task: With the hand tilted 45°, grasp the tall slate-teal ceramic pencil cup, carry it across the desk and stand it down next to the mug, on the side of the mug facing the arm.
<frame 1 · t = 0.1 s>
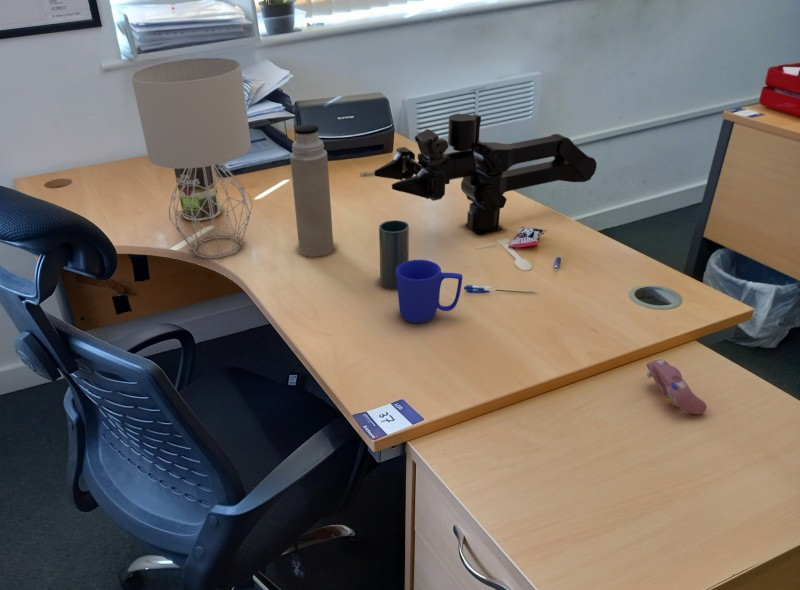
hand: (383, 179, 145), 17 cm above the table, tool horizontal, fingers open, 9 cm apart
thermos bottle: (316, 250, 158), on the table
toy shoe: (670, 399, 106), on the table
table lamp: (217, 248, 163), on the table
coffee can: (202, 214, 181), on the table
mug: (427, 317, 130), on the table
pencil cup: (394, 282, 142), on the table
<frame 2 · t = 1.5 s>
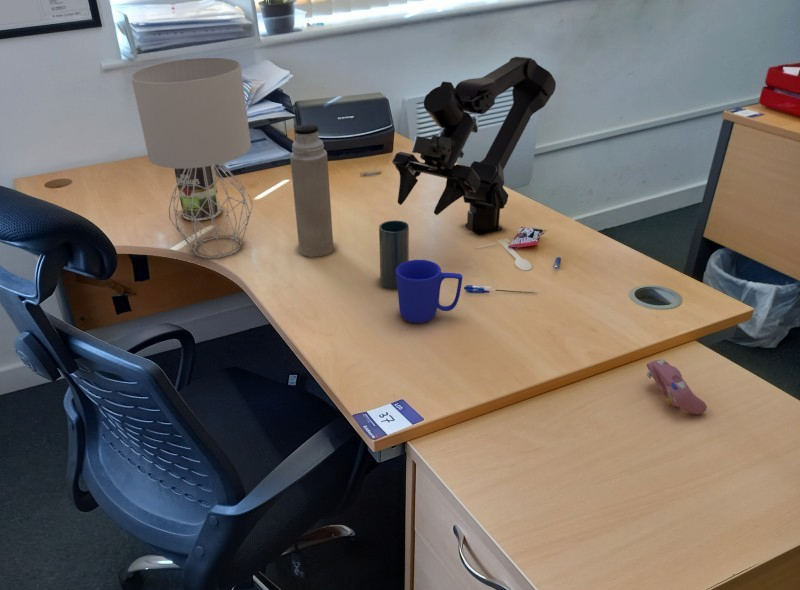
hand: (416, 208, 139), 14 cm above the table, tool tilted 45°, fingers open, 9 cm apart
nothing on the table moved.
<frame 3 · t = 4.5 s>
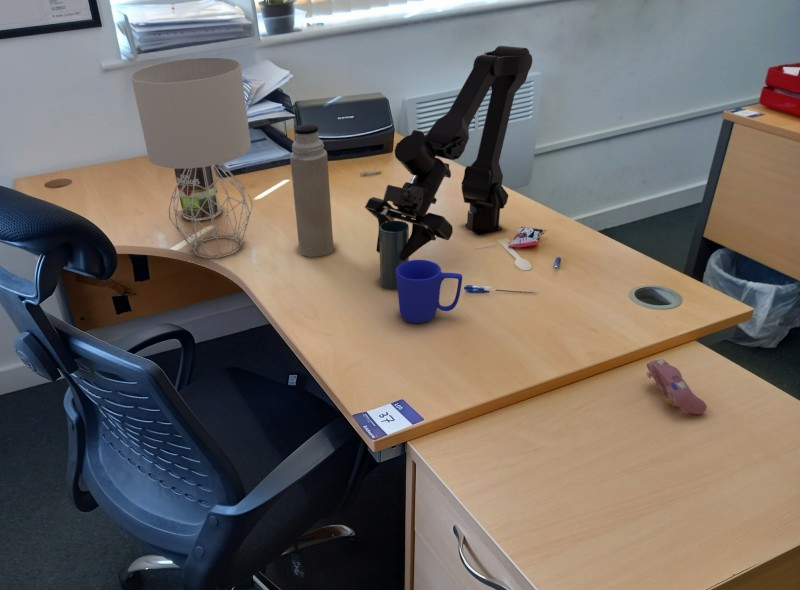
hand: (389, 255, 138), 7 cm above the table, tool tilted 45°, fingers closed on pencil cup, 6 cm apart
pencil cup: (394, 282, 142), on the table, touching gripper
everything else where it was.
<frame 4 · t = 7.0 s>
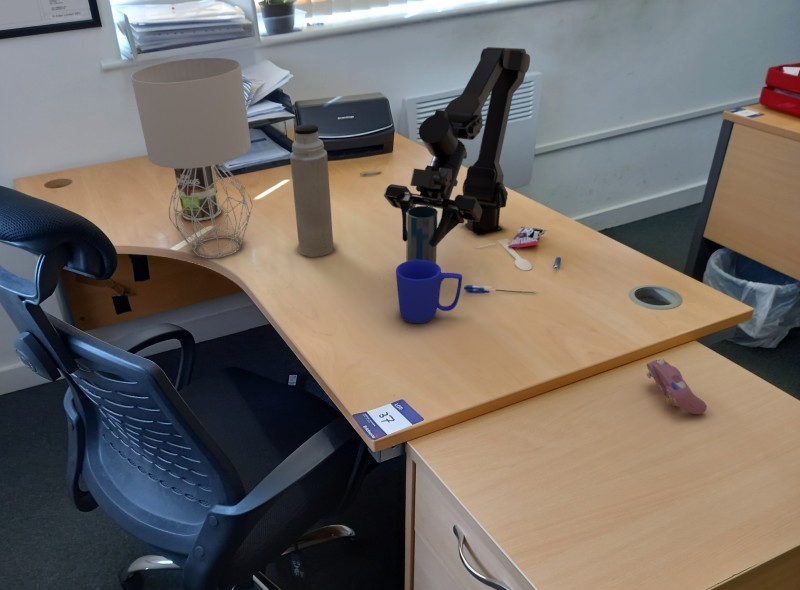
hand: (418, 243, 132), 11 cm above the table, tool tilted 45°, fingers closed on pencil cup, 6 cm apart
pencil cup: (421, 271, 136), point 4 cm above the table, touching gripper
everything else where it was.
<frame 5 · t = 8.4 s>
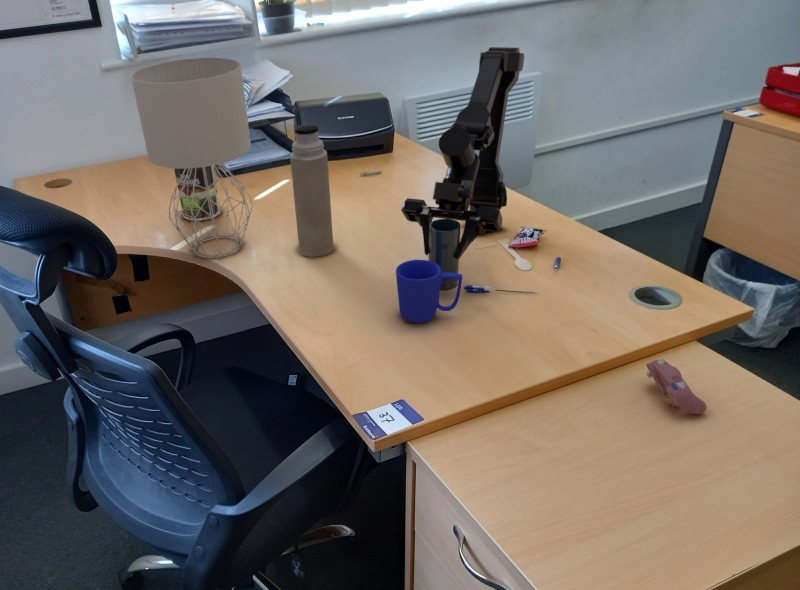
hand: (441, 256, 131), 9 cm above the table, tool tilted 45°, fingers closed on pencil cup, 6 cm apart
pencil cup: (442, 284, 136), point 2 cm above the table, touching gripper
everything else where it was.
when the fingers open (7 cm above the table, at t = 9.6 s): pencil cup stays where it is, on the table.
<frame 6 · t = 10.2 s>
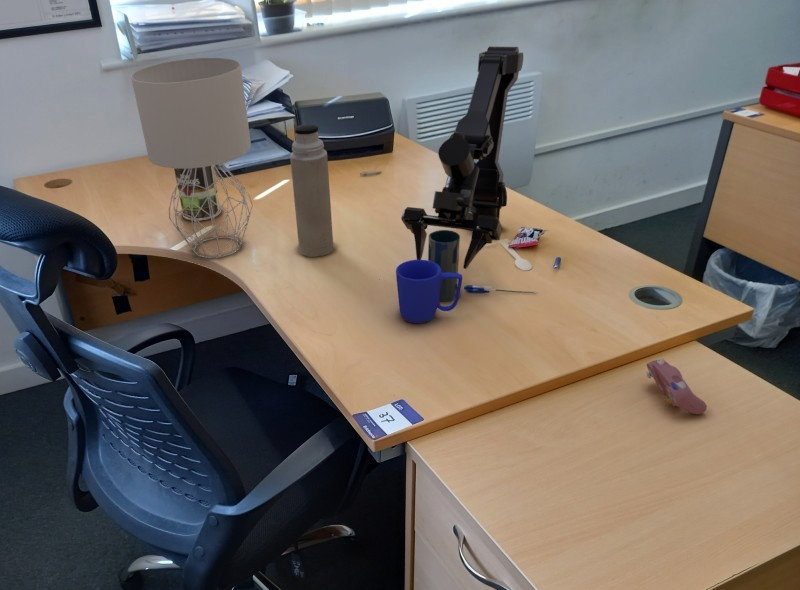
hand: (441, 265, 132), 7 cm above the table, tool tilted 45°, fingers open, 9 cm apart
pencil cup: (442, 294, 137), on the table
everything else where it was.
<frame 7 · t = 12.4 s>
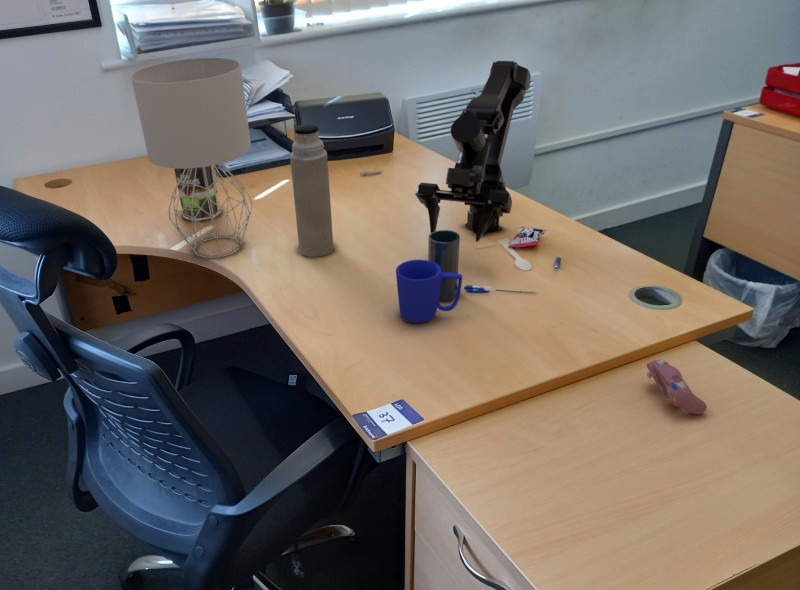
hand: (454, 238, 138), 9 cm above the table, tool tilted 40°, fingers open, 9 cm apart
nothing on the table moved.
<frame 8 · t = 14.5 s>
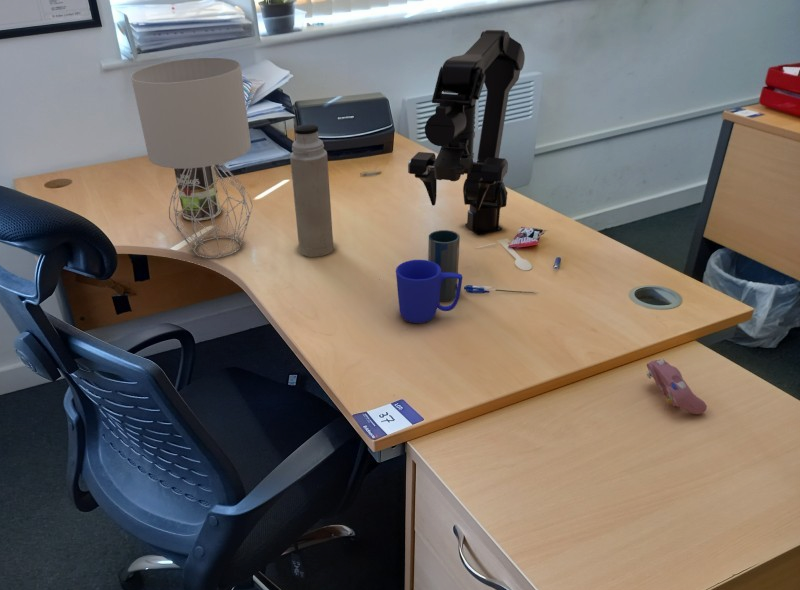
hand: (455, 207, 140), 13 cm above the table, tool pointing down, fingers open, 9 cm apart
nothing on the table moved.
at the end: pencil cup inside the target area on the table beside the mug (0.5 cm from its centre), on the table; pencil cup tilted 0°; the gripper is holding nothing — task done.
